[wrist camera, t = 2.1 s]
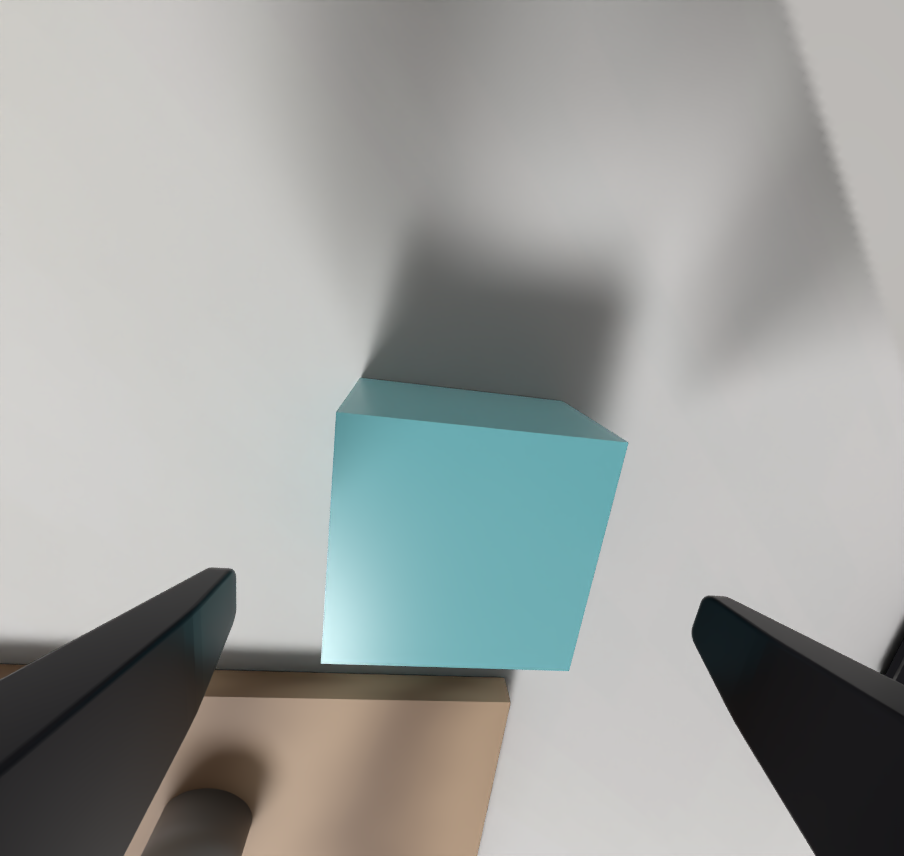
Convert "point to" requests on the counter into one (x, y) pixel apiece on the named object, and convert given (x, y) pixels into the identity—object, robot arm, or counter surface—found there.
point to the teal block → (463, 527)
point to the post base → (330, 767)
